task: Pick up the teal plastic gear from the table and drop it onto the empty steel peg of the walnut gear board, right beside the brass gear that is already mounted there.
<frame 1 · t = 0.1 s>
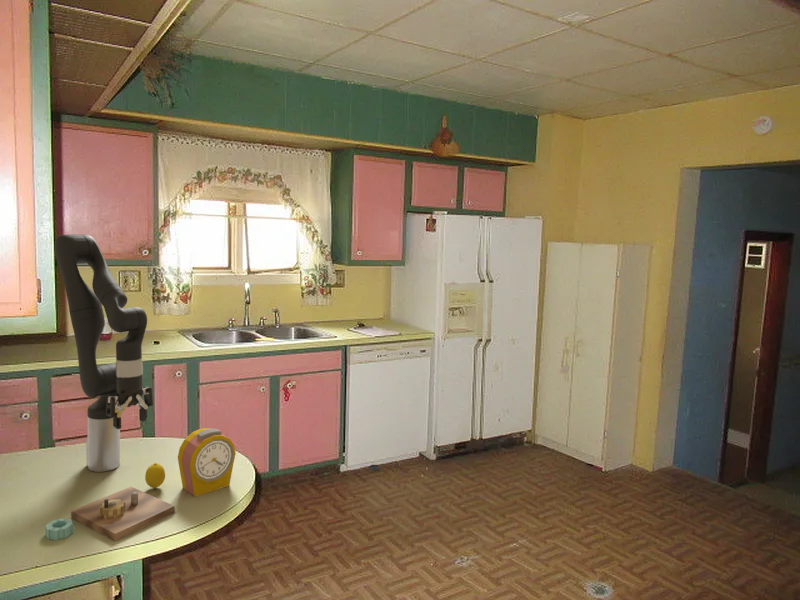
hand: (130, 424, 181), 17 cm above the table, tool pointing down, fingers open, 8 cm apart
gear board: (123, 515, 162), on the table
teal gear: (59, 533, 151), on the table
lemon: (155, 489, 178), on the table
alarm clock: (206, 487, 181), on the table
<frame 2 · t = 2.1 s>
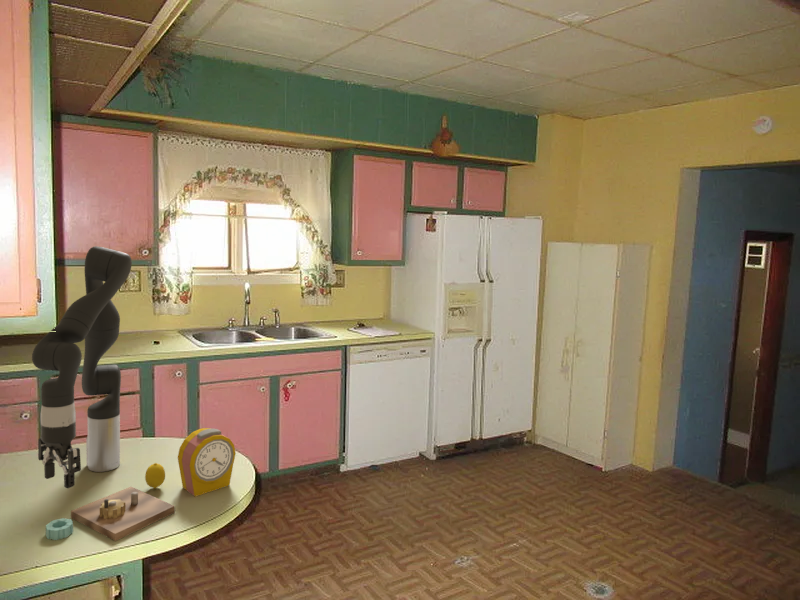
hand: (59, 482, 149), 14 cm above the table, tool pointing down, fingers open, 8 cm apart
nothing on the table moved.
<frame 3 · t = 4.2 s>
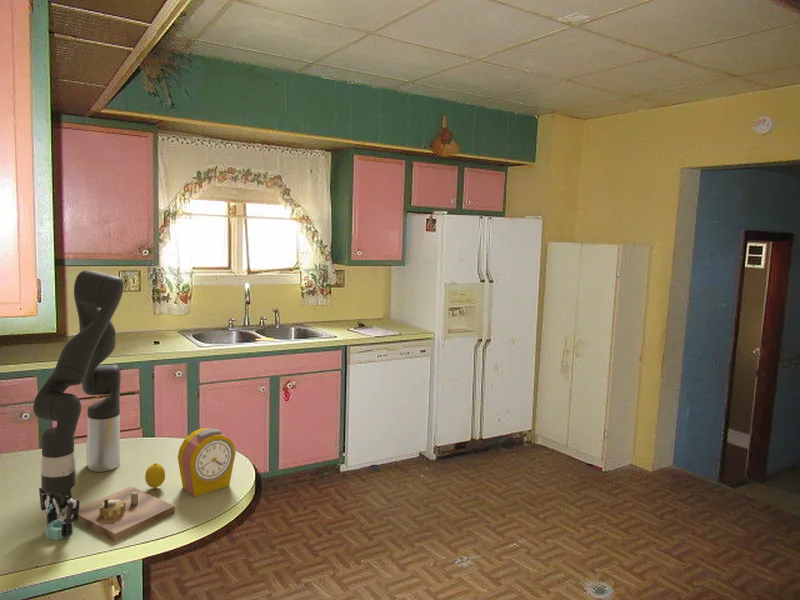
hand: (59, 531, 151), 1 cm above the table, tool pointing down, fingers closed on teal gear, 6 cm apart
teal gear: (59, 533, 151), on the table, touching gripper
everything else where it was.
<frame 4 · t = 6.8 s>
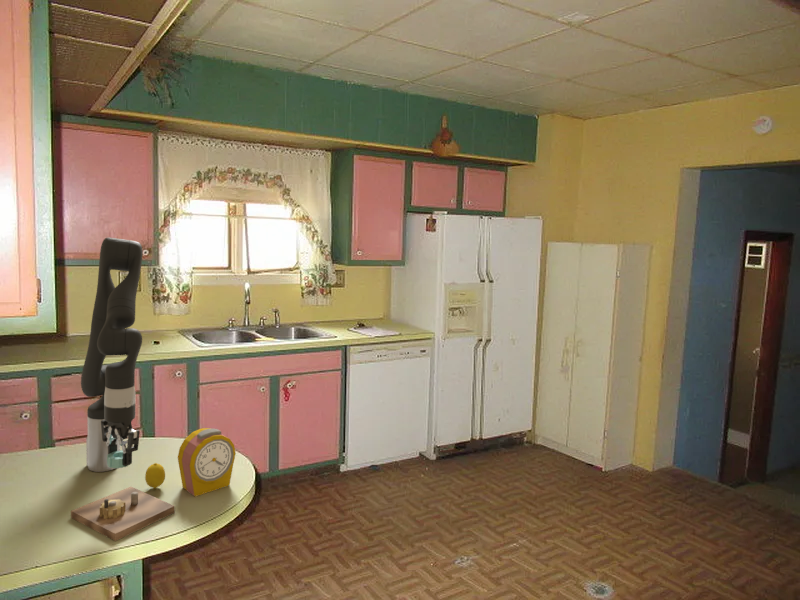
hand: (119, 461, 160), 15 cm above the table, tool pointing down, fingers closed on teal gear, 6 cm apart
teal gear: (119, 463, 160), point 15 cm above the table, touching gripper
everything else where it was.
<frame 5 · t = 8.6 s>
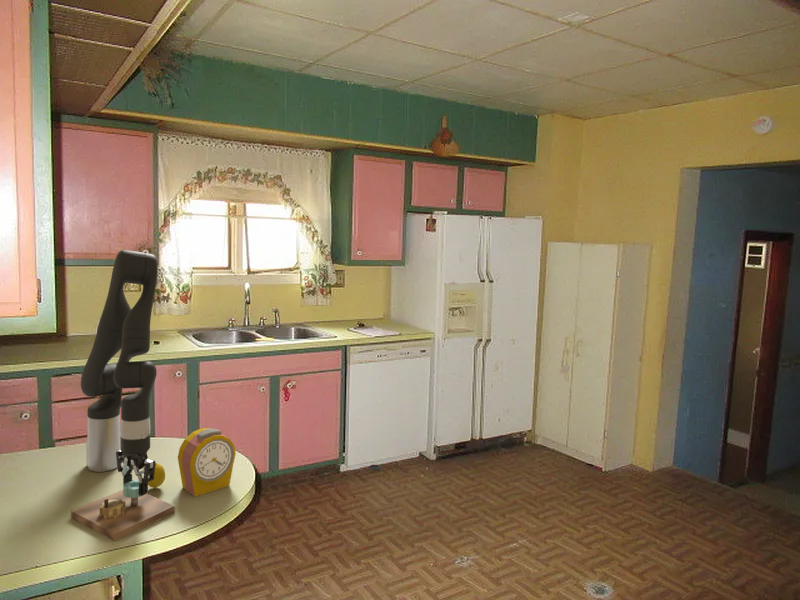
hand: (135, 490, 164), 6 cm above the table, tool pointing down, fingers closed on teal gear, 6 cm apart
teal gear: (135, 492, 164), point 5 cm above the table, touching gripper
everything else where it was.
when the fingers open (4 cm above the table, at t = 9.8 s): teal gear drops 1 cm, resting on gear board.
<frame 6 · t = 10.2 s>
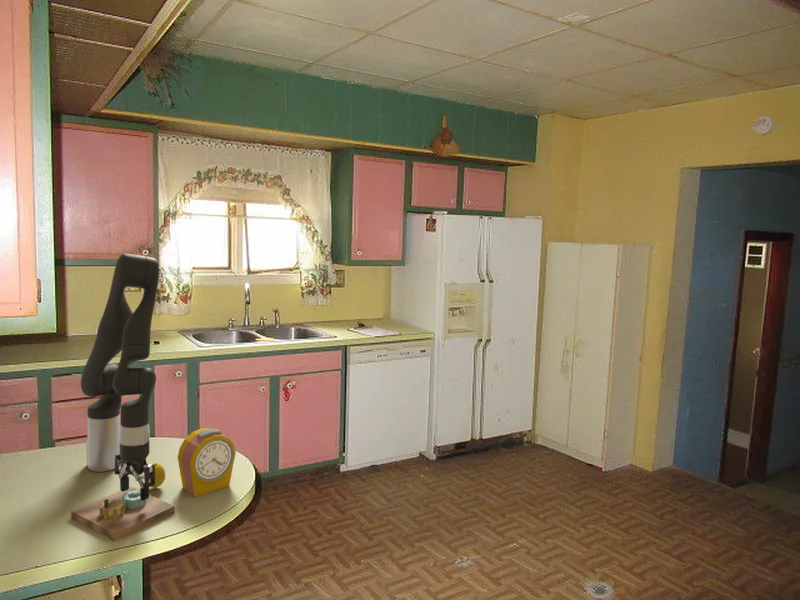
hand: (134, 494, 164), 5 cm above the table, tool pointing down, fingers open, 8 cm apart
teal gear: (134, 503, 164), point 2 cm above the table, touching gear board
everything else where it was.
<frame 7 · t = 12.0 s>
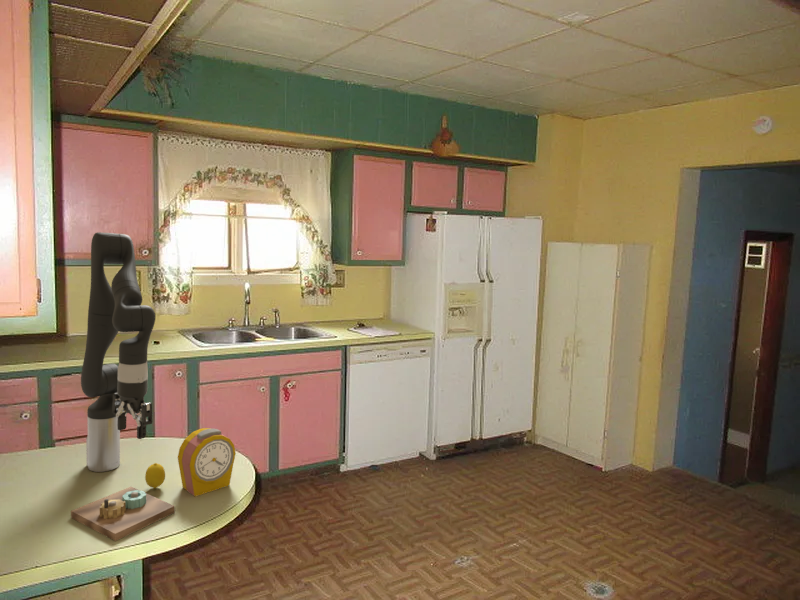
hand: (131, 433, 164), 21 cm above the table, tool pointing down, fingers open, 8 cm apart
nothing on the table moved.
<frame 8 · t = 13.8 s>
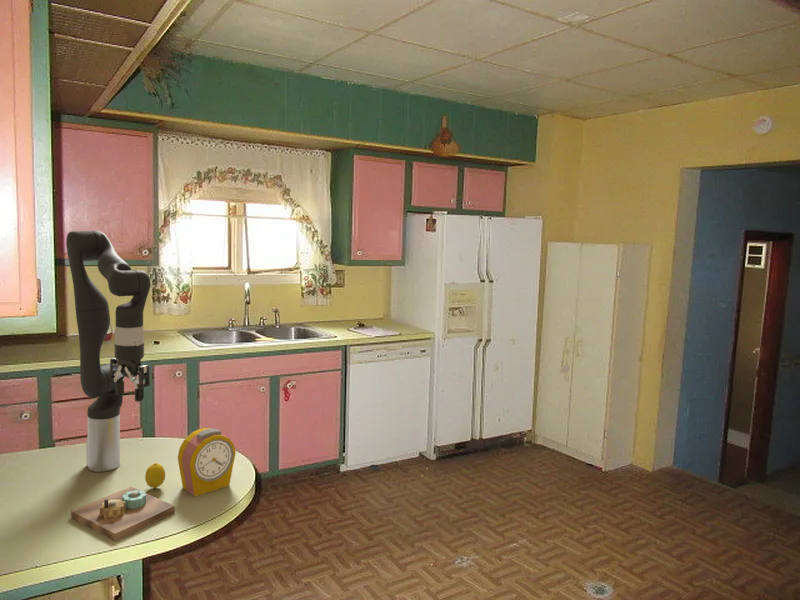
hand: (129, 397, 167), 30 cm above the table, tool pointing down, fingers open, 8 cm apart
nothing on the table moved.
at the end: teal gear 0.1 cm from the target spot on the gear board, point 2.0 cm above the gear board's base; teal gear tilted 0°; the gripper is holding nothing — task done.
